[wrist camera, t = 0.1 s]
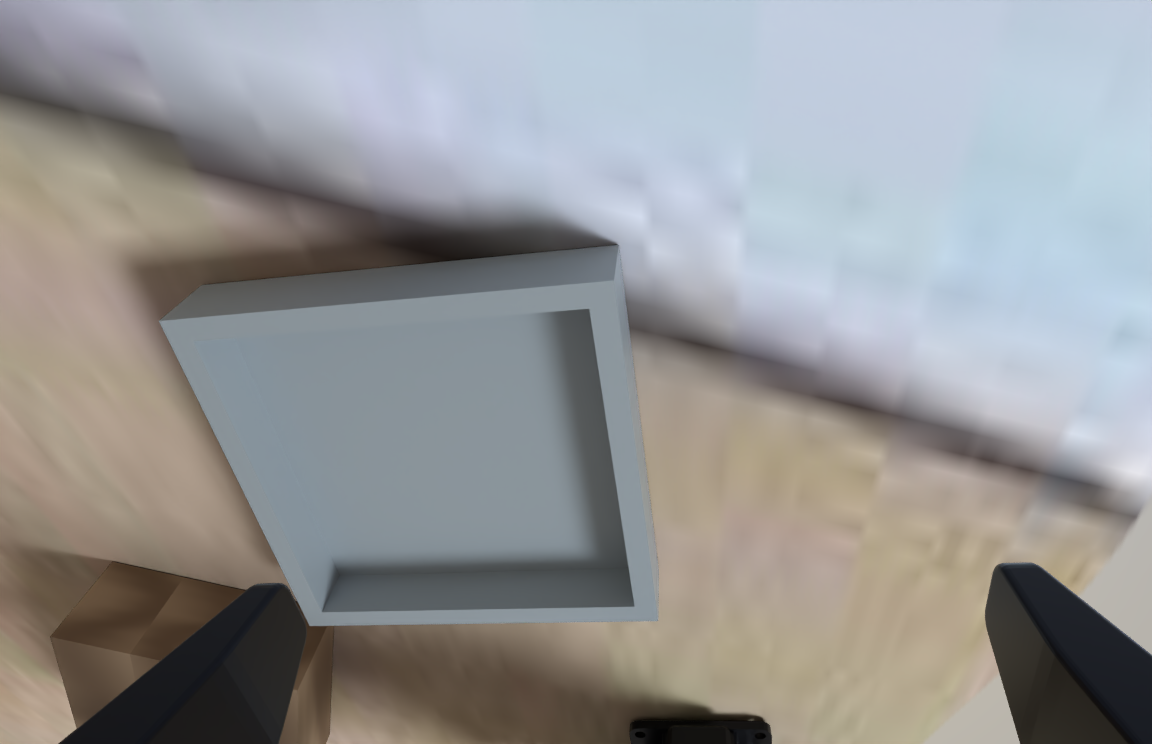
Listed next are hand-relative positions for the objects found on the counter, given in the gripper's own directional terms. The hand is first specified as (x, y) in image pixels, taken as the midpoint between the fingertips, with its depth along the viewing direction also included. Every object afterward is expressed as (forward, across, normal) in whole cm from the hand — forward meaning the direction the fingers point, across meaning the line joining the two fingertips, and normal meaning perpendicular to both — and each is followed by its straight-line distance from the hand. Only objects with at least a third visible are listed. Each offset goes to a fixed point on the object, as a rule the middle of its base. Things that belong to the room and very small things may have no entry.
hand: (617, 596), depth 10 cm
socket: (+15, +22, +20) cm, 33 cm away
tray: (+15, +8, +8) cm, 19 cm away
